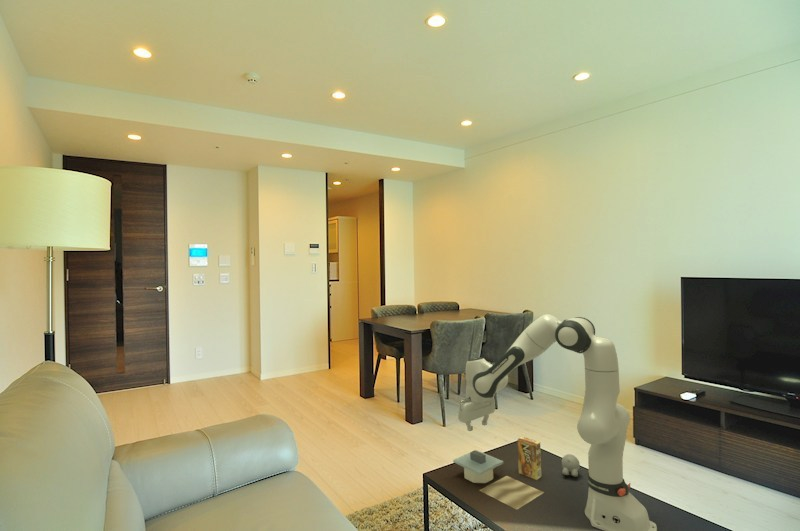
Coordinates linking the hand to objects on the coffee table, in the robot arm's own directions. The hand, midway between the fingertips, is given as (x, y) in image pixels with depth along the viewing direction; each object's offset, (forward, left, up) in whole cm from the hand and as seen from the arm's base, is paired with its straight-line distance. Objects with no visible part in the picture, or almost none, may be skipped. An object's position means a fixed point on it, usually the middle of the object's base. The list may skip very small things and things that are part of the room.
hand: (477, 427), depth 181 cm
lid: (0, 0, -15) cm, 15 cm away
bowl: (0, 0, -21) cm, 21 cm away
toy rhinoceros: (-24, -32, -21) cm, 46 cm away
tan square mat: (-17, 0, -21) cm, 27 cm away
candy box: (-14, -17, -21) cm, 31 cm away
